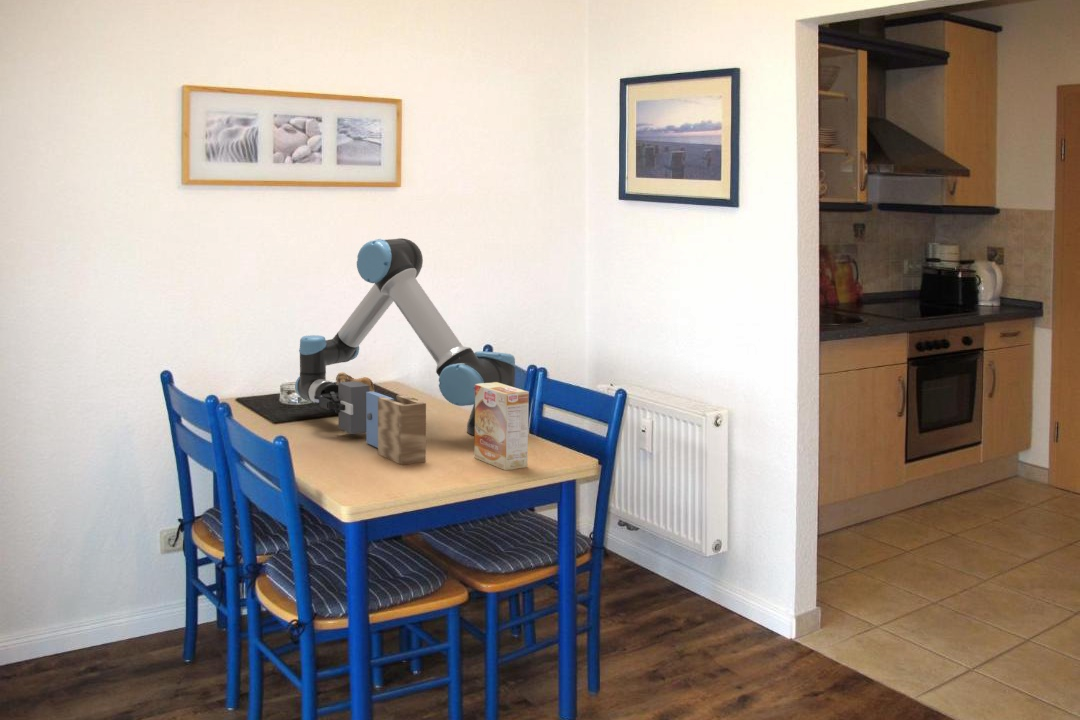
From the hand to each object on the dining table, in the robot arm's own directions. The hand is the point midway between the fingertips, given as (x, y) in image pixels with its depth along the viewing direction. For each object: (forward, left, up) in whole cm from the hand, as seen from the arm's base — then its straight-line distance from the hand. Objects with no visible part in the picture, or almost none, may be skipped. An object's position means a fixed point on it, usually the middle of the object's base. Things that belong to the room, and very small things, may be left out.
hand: (362, 408), depth 295 cm
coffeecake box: (-40, +18, -9) cm, 45 cm away
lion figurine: (+16, -57, -9) cm, 60 cm away
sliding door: (-7, +8, -8) cm, 13 cm away
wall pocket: (-14, +17, -9) cm, 23 cm away
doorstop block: (+3, -4, -7) cm, 9 cm away
